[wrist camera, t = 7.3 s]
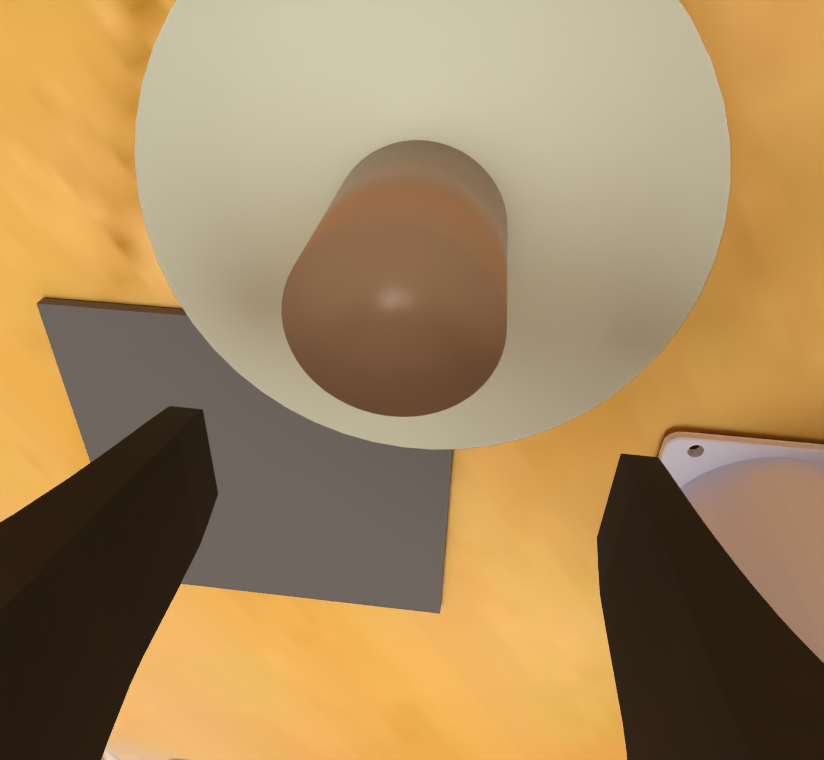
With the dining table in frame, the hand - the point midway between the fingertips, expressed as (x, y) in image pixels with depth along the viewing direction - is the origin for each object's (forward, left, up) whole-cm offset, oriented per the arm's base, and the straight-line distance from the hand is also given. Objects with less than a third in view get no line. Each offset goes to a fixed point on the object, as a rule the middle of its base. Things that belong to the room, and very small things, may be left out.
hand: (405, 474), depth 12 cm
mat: (+6, +10, -10) cm, 15 cm away
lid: (0, -3, -5) cm, 6 cm away
